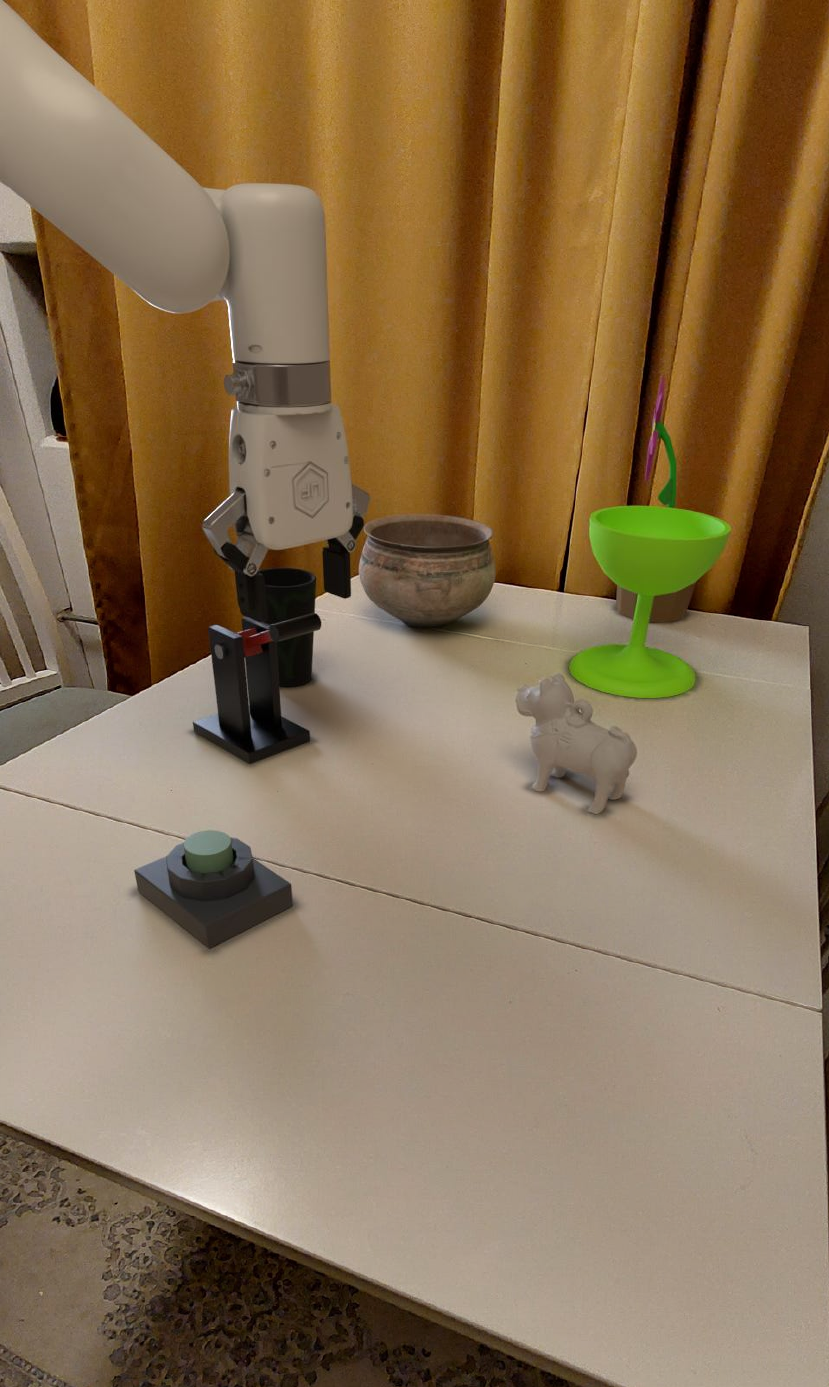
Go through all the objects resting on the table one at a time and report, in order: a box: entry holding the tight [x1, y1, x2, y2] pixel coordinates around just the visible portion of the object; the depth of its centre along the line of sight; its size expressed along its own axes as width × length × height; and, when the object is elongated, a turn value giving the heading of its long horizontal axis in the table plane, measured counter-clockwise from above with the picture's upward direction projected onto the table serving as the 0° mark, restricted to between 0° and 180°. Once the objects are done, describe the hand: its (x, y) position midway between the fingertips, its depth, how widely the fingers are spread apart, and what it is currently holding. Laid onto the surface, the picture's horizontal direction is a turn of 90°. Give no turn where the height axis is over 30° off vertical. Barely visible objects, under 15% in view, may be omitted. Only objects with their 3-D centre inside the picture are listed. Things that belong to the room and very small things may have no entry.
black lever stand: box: [192, 616, 311, 764], centre depth 90 cm, size 10×8×12 cm
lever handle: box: [235, 612, 322, 658], centre depth 85 cm, size 12×5×2 cm, turn 45°
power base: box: [133, 836, 294, 949], centre depth 69 cm, size 10×8×4 cm
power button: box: [183, 829, 233, 873], centre depth 68 cm, size 4×4×2 cm
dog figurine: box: [515, 672, 638, 815], centre depth 84 cm, size 5×13×11 cm, turn 51°
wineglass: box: [568, 505, 732, 699], centre depth 106 cm, size 16×16×18 cm
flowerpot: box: [615, 374, 698, 623], centre depth 122 cm, size 14×14×30 cm
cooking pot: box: [358, 513, 497, 629], centre depth 122 cm, size 25×19×12 cm
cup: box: [257, 567, 317, 688], centre depth 103 cm, size 8×8×12 cm
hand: (297, 606), depth 80 cm, fingers open, 9 cm apart
